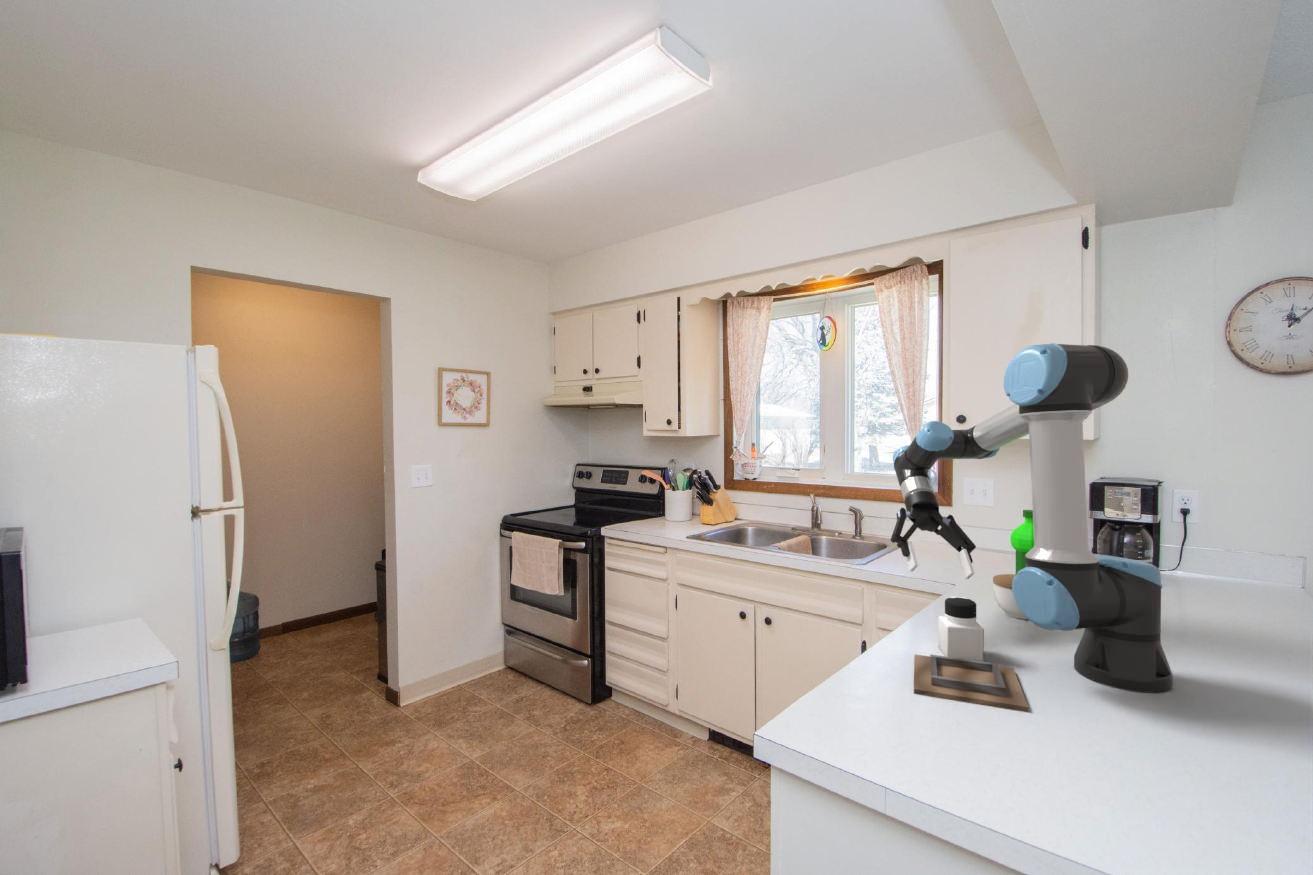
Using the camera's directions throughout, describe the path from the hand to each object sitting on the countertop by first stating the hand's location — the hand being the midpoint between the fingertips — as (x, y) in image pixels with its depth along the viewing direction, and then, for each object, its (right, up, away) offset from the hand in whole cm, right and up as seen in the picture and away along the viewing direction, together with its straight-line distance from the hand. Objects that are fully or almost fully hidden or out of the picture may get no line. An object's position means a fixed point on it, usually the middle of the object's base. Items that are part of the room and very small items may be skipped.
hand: (942, 572), depth 136 cm
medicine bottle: (-1, -16, -9) cm, 18 cm away
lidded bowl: (+29, -15, +17) cm, 37 cm away
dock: (-7, -16, -23) cm, 29 cm away
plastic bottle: (+41, -15, +31) cm, 53 cm away
